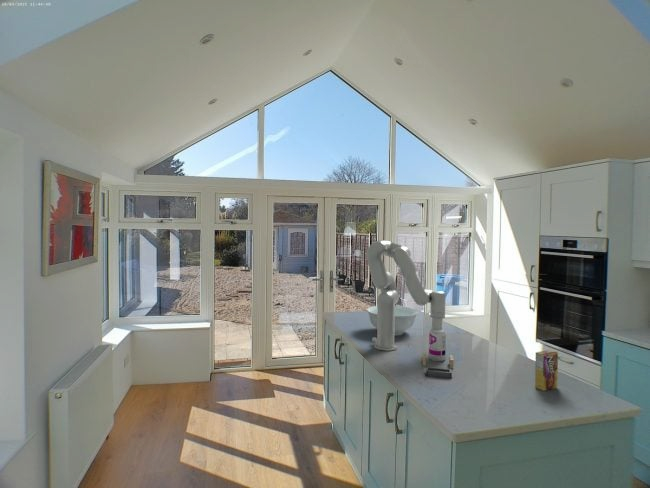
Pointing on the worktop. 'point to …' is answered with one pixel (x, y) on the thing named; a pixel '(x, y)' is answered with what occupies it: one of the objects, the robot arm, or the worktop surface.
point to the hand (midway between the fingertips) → (436, 348)
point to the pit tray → (438, 372)
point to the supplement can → (437, 344)
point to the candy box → (546, 370)
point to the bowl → (396, 318)
